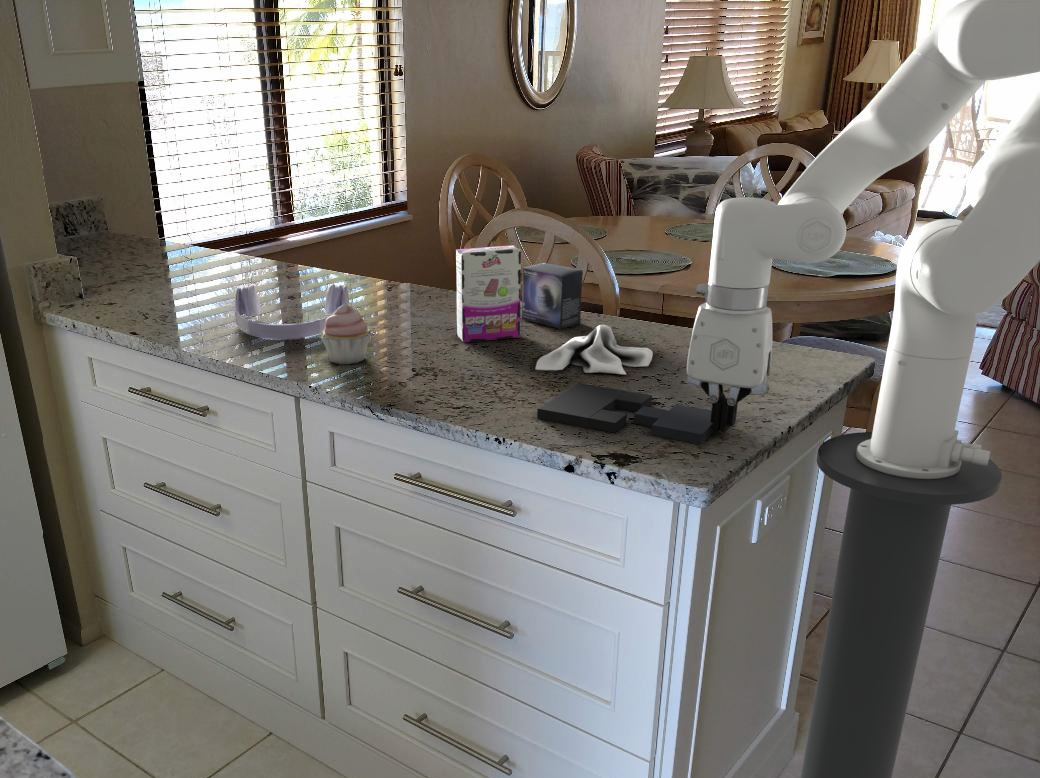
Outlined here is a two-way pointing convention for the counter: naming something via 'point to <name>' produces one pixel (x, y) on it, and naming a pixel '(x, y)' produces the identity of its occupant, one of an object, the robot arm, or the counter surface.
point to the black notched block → (593, 407)
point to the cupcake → (346, 336)
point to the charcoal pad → (677, 422)
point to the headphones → (250, 306)
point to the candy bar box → (488, 293)
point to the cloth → (595, 354)
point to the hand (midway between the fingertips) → (722, 428)
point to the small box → (551, 295)
